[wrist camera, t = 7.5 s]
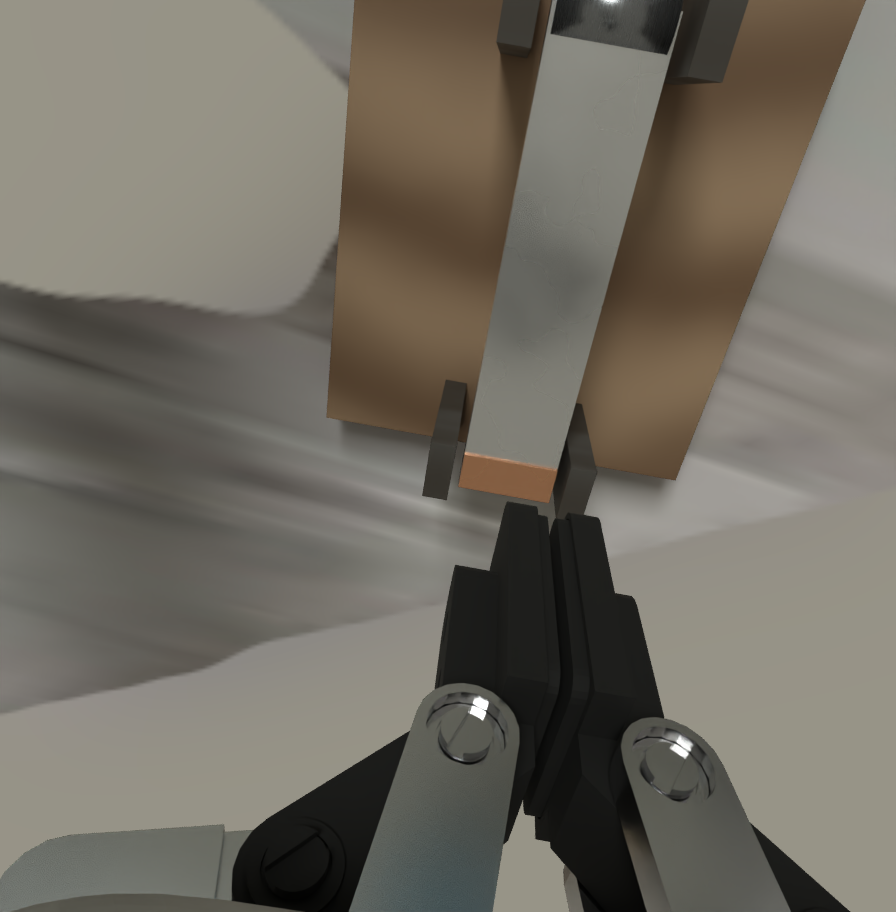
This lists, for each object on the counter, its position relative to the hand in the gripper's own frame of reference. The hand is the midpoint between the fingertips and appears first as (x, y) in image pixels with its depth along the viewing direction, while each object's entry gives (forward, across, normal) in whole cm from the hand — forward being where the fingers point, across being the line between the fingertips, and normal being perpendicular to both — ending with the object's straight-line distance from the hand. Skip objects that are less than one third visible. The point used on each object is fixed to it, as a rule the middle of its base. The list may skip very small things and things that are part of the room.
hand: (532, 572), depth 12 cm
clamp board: (+15, 0, -3) cm, 15 cm away
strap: (+10, 0, -3) cm, 11 cm away
